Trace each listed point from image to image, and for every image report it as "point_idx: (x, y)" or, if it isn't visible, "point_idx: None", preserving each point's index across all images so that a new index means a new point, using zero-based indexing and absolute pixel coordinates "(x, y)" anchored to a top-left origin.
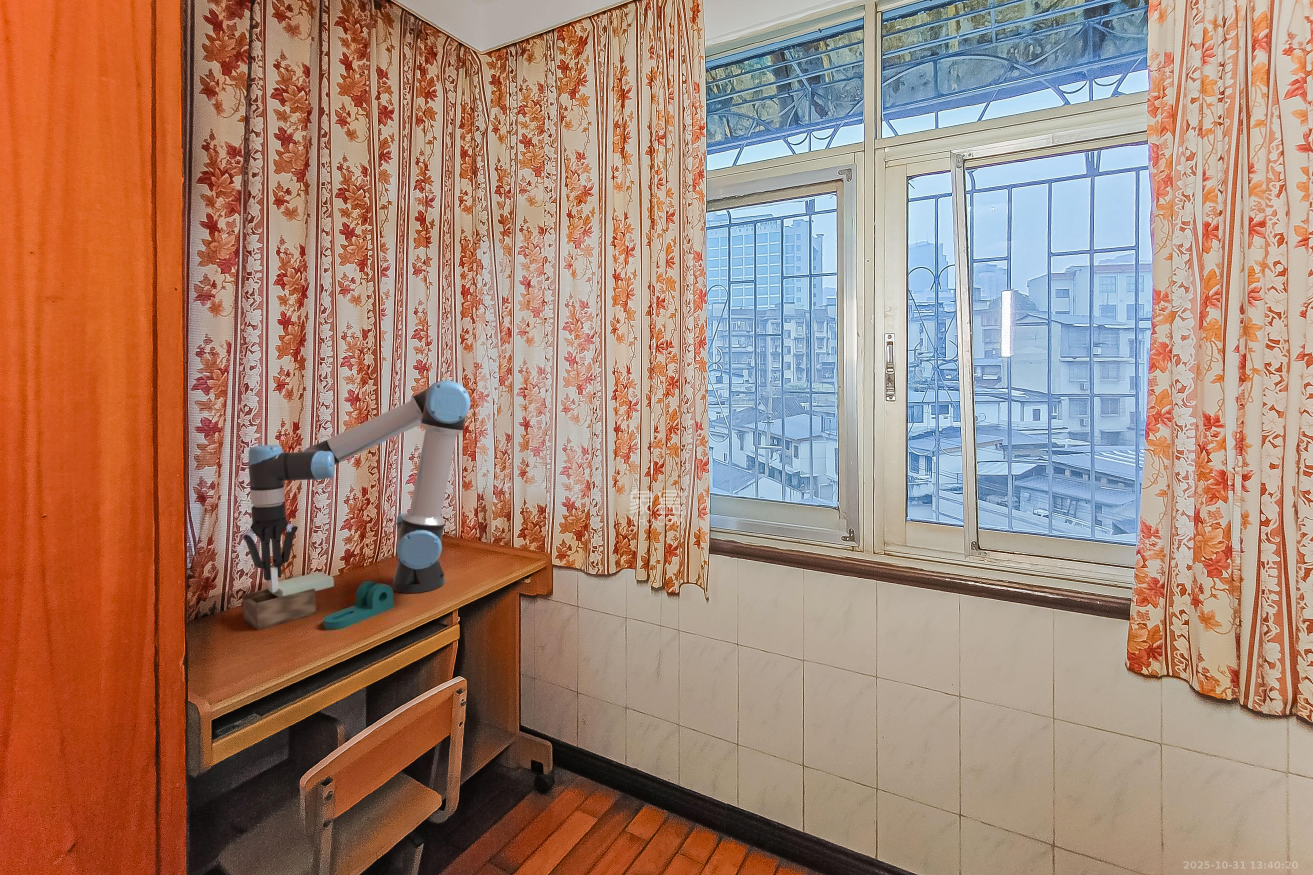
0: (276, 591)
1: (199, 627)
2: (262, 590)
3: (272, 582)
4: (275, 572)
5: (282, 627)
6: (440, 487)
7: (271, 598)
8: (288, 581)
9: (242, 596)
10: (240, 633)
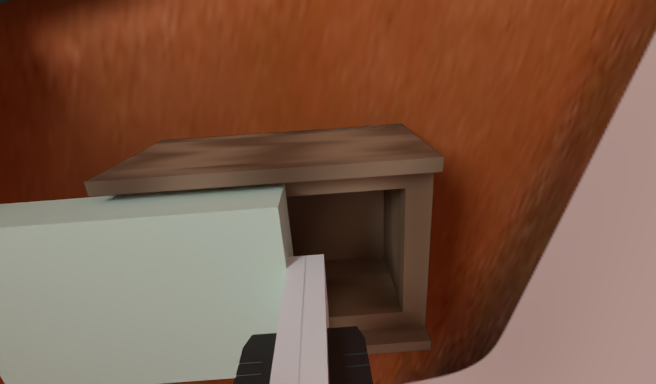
0: (300, 256)
1: (516, 300)
2: None
3: (320, 300)
4: (290, 366)
5: (319, 78)
6: None
7: None
8: (206, 345)
9: (428, 340)
10: (459, 142)
